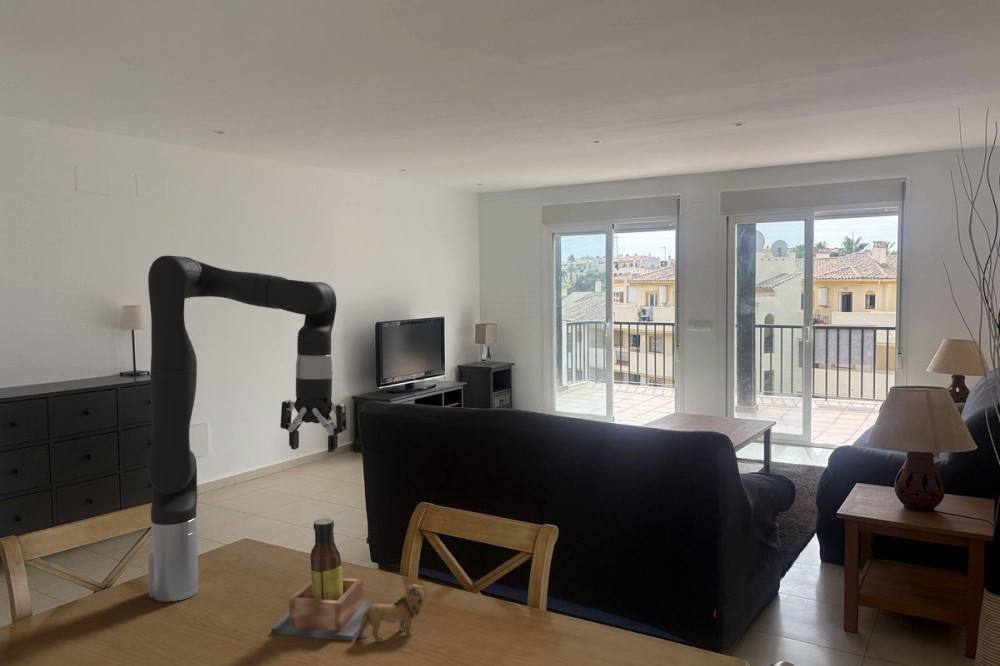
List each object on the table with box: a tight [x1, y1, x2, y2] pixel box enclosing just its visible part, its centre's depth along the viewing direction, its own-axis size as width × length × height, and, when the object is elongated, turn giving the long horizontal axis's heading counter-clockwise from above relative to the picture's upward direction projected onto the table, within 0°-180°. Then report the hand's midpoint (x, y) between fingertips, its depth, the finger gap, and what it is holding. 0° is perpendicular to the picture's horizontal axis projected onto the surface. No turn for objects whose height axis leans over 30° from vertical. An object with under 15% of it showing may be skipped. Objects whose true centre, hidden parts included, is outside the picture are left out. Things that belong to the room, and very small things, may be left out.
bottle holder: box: [271, 577, 380, 642], centre depth 149 cm, size 17×15×6 cm
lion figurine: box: [354, 583, 426, 643], centre depth 142 cm, size 15×5×9 cm, turn 121°
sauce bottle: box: [309, 517, 343, 601], centre depth 148 cm, size 6×6×20 cm
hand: (313, 450), depth 155 cm, fingers open, 8 cm apart
